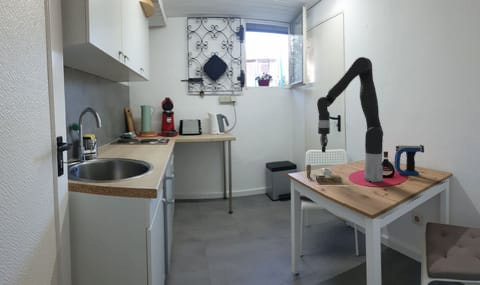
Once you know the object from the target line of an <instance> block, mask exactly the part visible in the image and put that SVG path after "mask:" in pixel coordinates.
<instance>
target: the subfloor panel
mask: <svg viewBox="0 0 480 285" xmlns="http://www.w3.org/2000/svg"><path fill="white" fill-rule="evenodd" d="M316 175H322V174H321V173H311V176H312V177H313V178H314V180H315V181H316ZM332 175H334V174H333V173H332Z"/></svg>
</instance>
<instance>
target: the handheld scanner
mask: <svg viewBox="0 0 480 285" xmlns="http://www.w3.org/2000/svg"><path fill="white" fill-rule="evenodd" d="M395 151H396V152H395V153H394V169H395V171H397V173H398V174H401V175H403V176H419V175H420V172H419V171H418V170H416V169H415V168H416V160H415V157H416V155H417V153H425V146H424V145H423V144H419V145H407V144H405V145H403V144H402V145H400V144H399V145H395ZM403 153H405V155H406V162H405V163H406V166H405V167H406V168H405V170H404V169H402V168H401V156H402V154H403Z"/></svg>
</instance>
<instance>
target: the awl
mask: <svg viewBox="0 0 480 285" xmlns="http://www.w3.org/2000/svg"><path fill="white" fill-rule="evenodd" d="M311 170H312V165H311V164H306V178H311V175H312V171H311Z"/></svg>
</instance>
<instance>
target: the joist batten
mask: <svg viewBox="0 0 480 285" xmlns="http://www.w3.org/2000/svg"><path fill="white" fill-rule="evenodd" d="M342 180H343V178H342V176H341V175H337V174H336V175H334V174H333V175H316V180H315V182H317V183H320V184H321V183H322V184H324V183H327V184H328V183H331V184H332V183H335V184H338V183H339V184H340V183H342Z"/></svg>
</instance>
